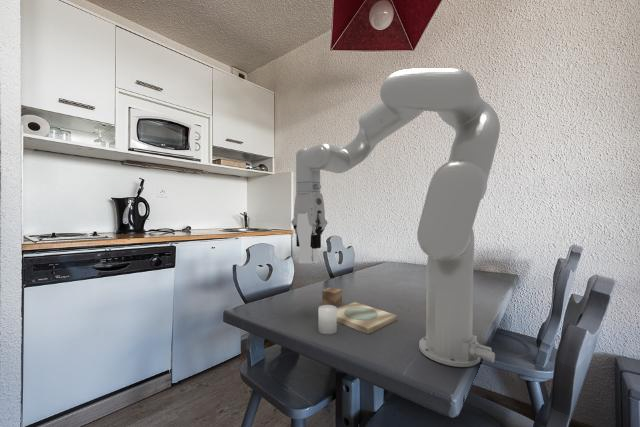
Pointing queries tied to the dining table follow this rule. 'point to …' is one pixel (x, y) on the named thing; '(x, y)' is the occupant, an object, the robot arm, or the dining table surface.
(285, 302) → the dining table surface
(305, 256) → the beer glass
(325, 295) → the walnut block
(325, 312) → the white short cylinder
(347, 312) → the birch board
